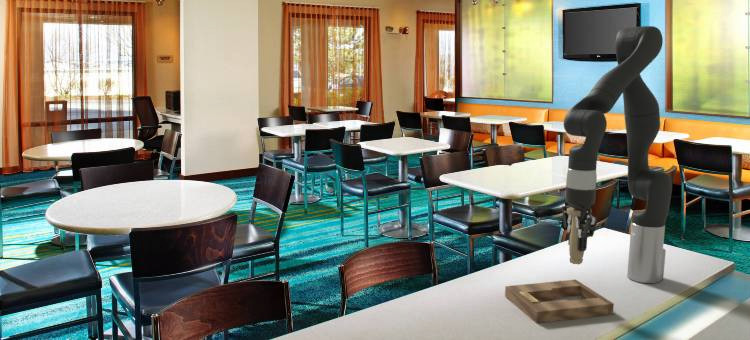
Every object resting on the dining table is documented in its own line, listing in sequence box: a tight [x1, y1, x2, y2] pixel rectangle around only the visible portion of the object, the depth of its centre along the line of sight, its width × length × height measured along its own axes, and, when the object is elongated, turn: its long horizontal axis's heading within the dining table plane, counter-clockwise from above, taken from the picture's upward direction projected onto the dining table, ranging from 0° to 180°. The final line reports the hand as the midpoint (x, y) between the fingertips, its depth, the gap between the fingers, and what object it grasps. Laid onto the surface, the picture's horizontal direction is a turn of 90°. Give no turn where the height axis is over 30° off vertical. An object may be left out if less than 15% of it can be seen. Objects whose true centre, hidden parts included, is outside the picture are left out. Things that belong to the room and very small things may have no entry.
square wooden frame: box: [504, 279, 615, 324], centre depth 166 cm, size 22×18×3 cm
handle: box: [567, 207, 593, 265], centre depth 164 cm, size 5×6×15 cm
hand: (577, 247), depth 164 cm, fingers closed on handle, 4 cm apart
